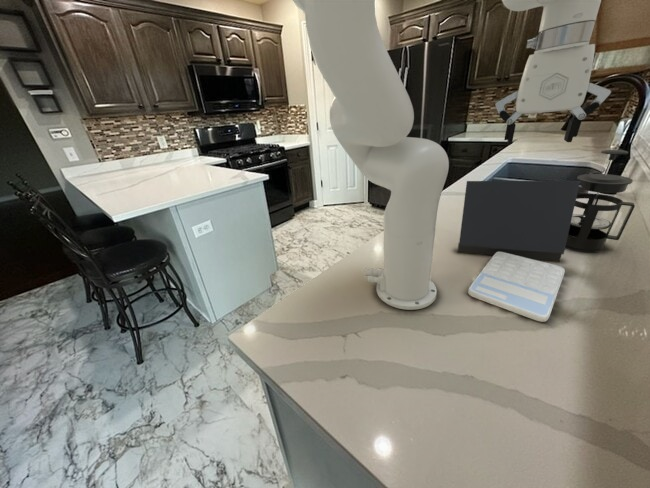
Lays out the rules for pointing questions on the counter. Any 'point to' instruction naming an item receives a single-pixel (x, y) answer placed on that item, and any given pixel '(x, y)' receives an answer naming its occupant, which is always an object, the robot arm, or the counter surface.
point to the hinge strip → (519, 253)
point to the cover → (518, 215)
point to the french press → (597, 209)
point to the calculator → (519, 285)
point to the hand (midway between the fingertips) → (537, 142)
